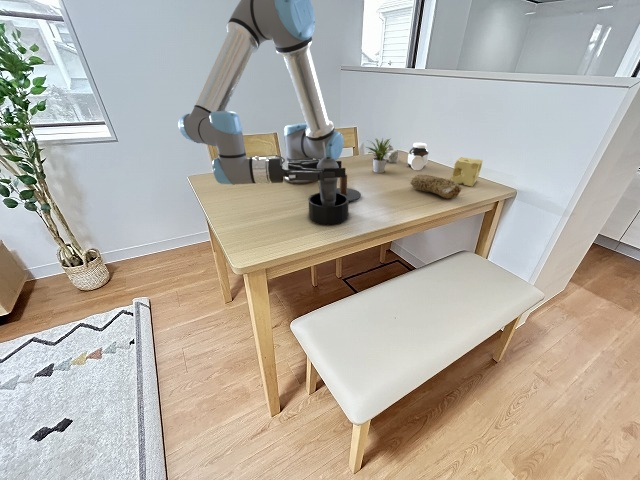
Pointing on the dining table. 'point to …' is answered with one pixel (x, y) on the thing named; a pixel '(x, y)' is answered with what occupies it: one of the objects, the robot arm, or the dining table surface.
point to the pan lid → (348, 190)
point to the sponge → (436, 185)
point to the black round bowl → (328, 210)
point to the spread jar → (418, 156)
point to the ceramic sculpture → (391, 155)
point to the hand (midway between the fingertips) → (343, 168)
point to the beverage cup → (327, 181)
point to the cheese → (466, 171)
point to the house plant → (379, 155)
